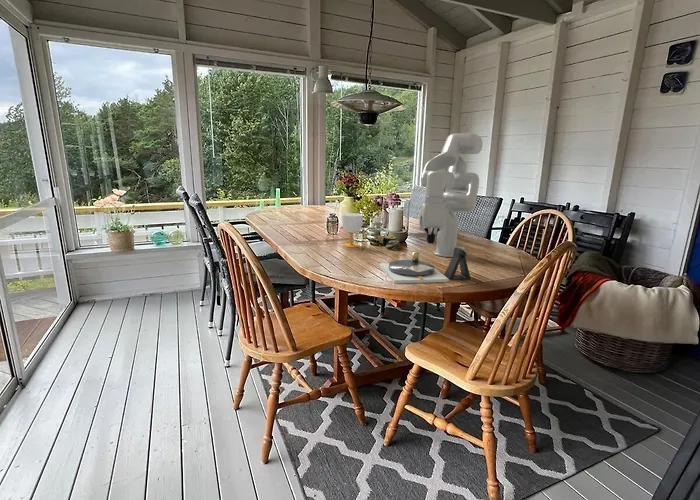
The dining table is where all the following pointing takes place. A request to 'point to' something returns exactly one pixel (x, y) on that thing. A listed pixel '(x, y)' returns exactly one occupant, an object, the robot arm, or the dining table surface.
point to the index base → (413, 279)
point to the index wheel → (412, 267)
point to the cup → (351, 225)
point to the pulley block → (388, 241)
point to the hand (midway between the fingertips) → (430, 243)
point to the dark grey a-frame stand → (457, 259)
